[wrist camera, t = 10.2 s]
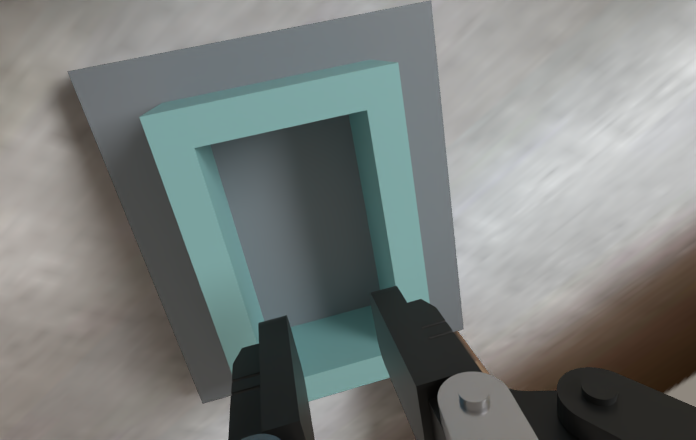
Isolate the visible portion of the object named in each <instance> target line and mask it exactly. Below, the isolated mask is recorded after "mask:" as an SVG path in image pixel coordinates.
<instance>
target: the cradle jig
mask: <svg viewBox="0 0 696 440" xmlns="http://www.w3.org/2000/svg"><path fill="white" fill-rule="evenodd" d="M68 74H69V76H70V79H71V81H72V84H73V86H74V89H75V91H76V94H77V96H78V98H79V101H80V103H81V106H82V108H83V111H84V113H85V116H86V118H87V121H88V123H89V125H90V128H91V130H92V133H93V135H94V138H95V140H96V143H97V145H98V148H99V150H100V153H101V155H102V157H103V160H104V162H105V165H106V167H107V170H108V172H109V175H110V177H111V180H112V182H113V184H114V187H115V189H116V192H117V194H118V197H119V199H120V202H121V204H122V207H123V209H124V211H125V214H126V216H127V219H128V221H129V224H130V226H131V229H132V231H133V234H134V236H135V239H136V241H137V243H138V246H139V248H140V251H141V253H142V256H143V258H144V261H145V263H146V266H147V268H148V270H149V273H150V275H151V278H152V280H153V283H154V285H155V288H156V290H157V293H158V295H159V297H160V300H161V302H162V305H163V307H164V310H165V312H166V315H167V317H168V320H169V322H170V324H171V327H172V329H173V332H174V334H175V337H176V339H177V342H178V344H179V347H180V349H181V352H182V354H183V356H184V359H185V361H186V364H187V366H188V369H189V371H190V374H191V376H192V379H193V381H194V383H195V386H196V388H197V391H198V393H199V396H200V398H201V401H202V403H207V402H210V401H214V400H217V399H221V398H224V397H228V396H231V386H232V368H233V363H234V361H235V359H236V357H237V356H238V354H239V352H240V350H241V349H242V348H244V347H247V346H251V345H255V344H258V343H259V331H258V324H259V322H263V321H267V320H270V319H274V318H278V317H281V316H285V315H287V317H288V320H289V323H290V327H291V330H292V334H293V338H294V341H295V345H296V348H297V352H298V355H299V359H300V363H301V366H302V370H303V375H304V379H305V384H306V390H307V396H308V402H309V401H312V400H315V399H319V398H322V397H326V396H329V395H332V394H336V393H339V392H343V391H346V390H350V389H353V388H356V387H360V386H363V385H367V384H370V383H373V382H377V381H380V380H384V379H387V378H390V376H389V374H388V371H387V369H386V367H385V364H384V361H383V359H382V355H381V352H380V348H379V344H378V340H377V335H376V329H375V324H374V319H373V314H372V309H371V303H370V297H369V293H371V292H375V291H378V290H382V289H386V288H389V287H393V286H397V287H398V288H399V290H400V292H401V293H402V295H403V297H404V298H405V300H406V301H407V303H408V302H411V301H415V300H419V299H422V300H424V301H426V302H428V303H429V304H431V305H433V306H435V307H436V308H437V309H438V311H439V312H440V313H441V315H442V316H443V318H444V319H445V322H447V323H448V325H449V326H450V327H451V329H452V331H453V332H455V331H459V330H462V329H463V319H462V309H461V299H460V289H459V279H458V268H457V258H456V248H455V238H454V228H453V218H452V208H451V198H450V187H449V177H448V167H447V157H446V147H445V137H444V127H443V117H442V106H441V96H440V86H439V76H438V66H437V56H436V46H435V36H434V25H433V15H432V5H431V1H426V2H421V3H416V4H411V5H406V6H400V7H395V8H390V9H385V10H380V11H375V12H370V13H365V14H359V15H354V16H349V17H344V18H339V19H334V20H329V21H324V22H319V23H313V24H308V25H303V26H298V27H293V28H288V29H283V30H278V31H272V32H267V33H262V34H257V35H252V36H247V37H242V38H237V39H231V40H226V41H221V42H216V43H211V44H206V45H201V46H196V47H191V48H185V49H180V50H175V51H170V52H165V53H160V54H155V55H150V56H144V57H139V58H134V59H129V60H124V61H119V62H114V63H109V64H104V65H98V66H93V67H88V68H83V69H78V70H73V71H68Z"/></svg>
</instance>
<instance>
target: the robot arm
mask: <svg viewBox="0 0 696 440" xmlns="http://www.w3.org/2000/svg"><path fill="white" fill-rule="evenodd" d="M369 297H370V303H371V309H372V314H373V319H374V324H375V329H376V335H377V340H378V344H379V348H380V352H381V355H382V359H383V361H384V364H385V367H386V369H387V371H388V374H389V376H390V378H391V381H392V383H393V386H394V388H395V390H396V393H397V395H398V397H399V400H400V402H401V405H402V407H403V409H404V412H405V414H406V416H407V419H408V421H409V424H410V426H411V428H412V431H413V433H414V435H415V438H416V440H696V407H694V406H692V405H689V404H687V403H685V402H682V401H680V400H678V399H675V398H673V397H671V396H668V395H666V394H664V393H661V392H659V391H657V390H654V389H652V388H650V387H647V386H645V385H643V384H640V383H638V382H636V381H633V380H631V379H629V378H626V377H624V376H622V375H619V374H617V373H614V372H612V371H609V370H605V369H600V368H590V367H586V368H578V369H574V370H571V371H569V372H567V373H565V374H564V375H563V376H562V377H561V378H560V380H559V382H558V385H557V391H517V390H512V389H508V387H507V386H506V385H505V384H504V383H503V382H502V381H501V380H499V379H498V378H496V377H494V376H492V375H489V374H486V373H483V372H482V371H481V370H480V368H479V367H478V365H477V364H476V363H475V361H474V360H473V358H472V357H471V356H470V354H469V353H468V351H467V350H466V349H465V347H464V346H463V344H462V343H461V342H460V340H459V339H458V337H457V336H456V334H455V333H453V331H452V329H451V327H450V326H449V325H448V323H447V322H445V319H444V318H443V316H442V315H441V313H440V312H439V311H438V309H437V308H436V307H435V306H433V305H431V304H429V303H428V302H426V301H424V300H422V299H419V300H415V301H411V302H408V303H407V301H406V300H405V298H404V297H403V295H402V293H401V292H400V290H399V288H398V287H397V286H393V287H389V288H386V289H382V290H378V291H375V292H371V293H369ZM258 331H259V343H258V344H255V345H251V346H247V347H244V348H242V349H241V350H240V352H239V354H238V356H237V357H236V359H235V361H234V363H233V368H232V386H231V395H232V396H231V404H230V421H229V439H228V440H315V439H314V433H313V427H312V421H311V414H310V408H309V402H308V396H307V390H306V384H305V379H304V375H303V370H302V366H301V363H300V359H299V355H298V352H297V348H296V345H295V341H294V338H293V334H292V330H291V327H290V323H289V320H288V317H287V315H285V316H281V317H278V318H274V319H270V320H267V321H263V322H259V324H258Z"/></svg>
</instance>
